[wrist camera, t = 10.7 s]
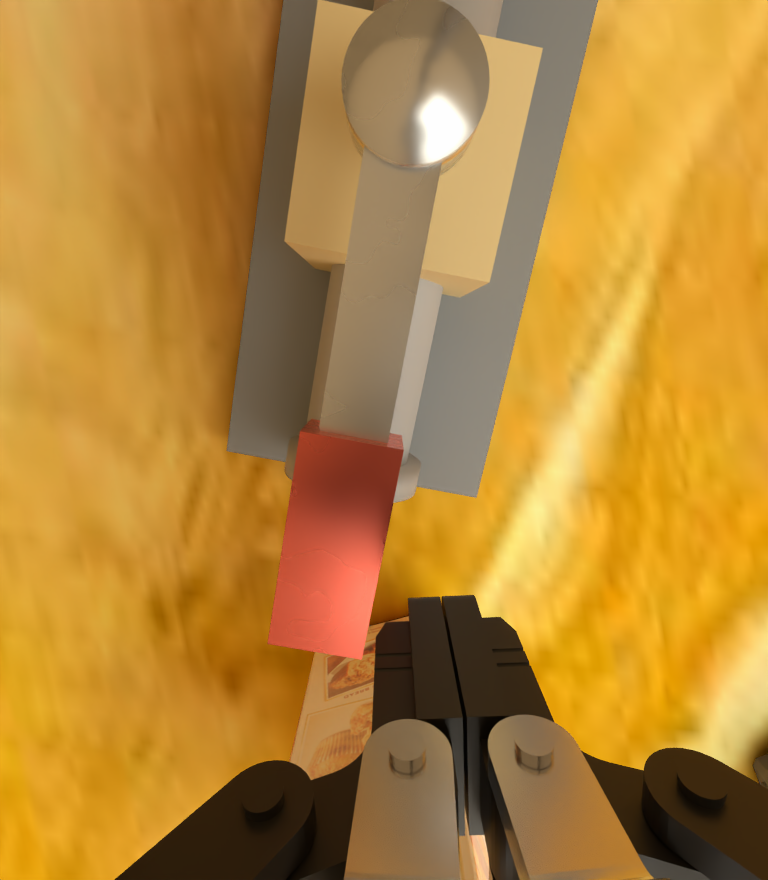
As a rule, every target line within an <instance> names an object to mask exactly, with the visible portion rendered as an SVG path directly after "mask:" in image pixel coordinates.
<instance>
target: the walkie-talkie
mask: <svg viewBox="0 0 768 880" xmlns="http://www.w3.org/2000/svg"><path fill="white" fill-rule="evenodd" d="M753 767H754V770H755V773H756V775H757V778H758V781H759V783H760V785H762V786H764V787H765V788H767V789H768V754H766V755H763V756H761V757H758V758H756V759H755V762H754V764H753Z"/></svg>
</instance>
